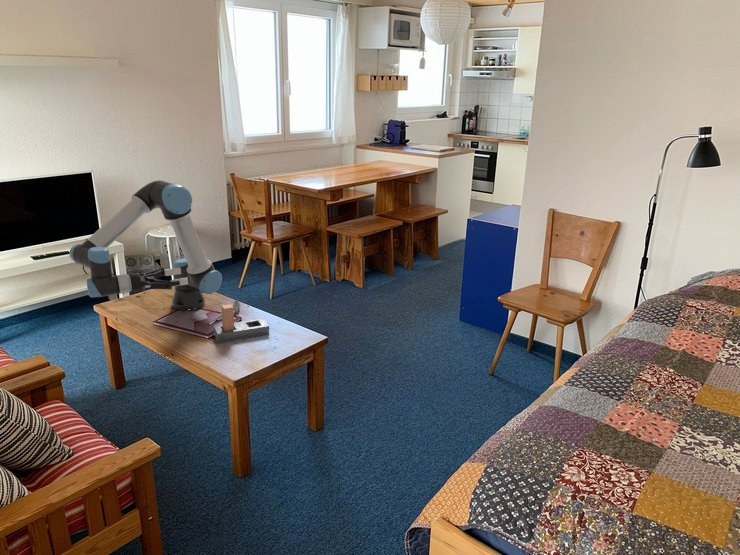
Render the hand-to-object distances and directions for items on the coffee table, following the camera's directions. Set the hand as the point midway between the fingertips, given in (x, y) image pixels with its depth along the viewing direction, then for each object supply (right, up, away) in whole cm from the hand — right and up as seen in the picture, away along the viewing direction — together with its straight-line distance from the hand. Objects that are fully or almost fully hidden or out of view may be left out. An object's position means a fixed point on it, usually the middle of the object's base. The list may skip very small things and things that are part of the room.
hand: (184, 275), depth 237 cm
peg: (+17, -26, +6) cm, 32 cm away
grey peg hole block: (+22, -25, +8) cm, 35 cm away
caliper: (+11, -20, +25) cm, 33 cm away
